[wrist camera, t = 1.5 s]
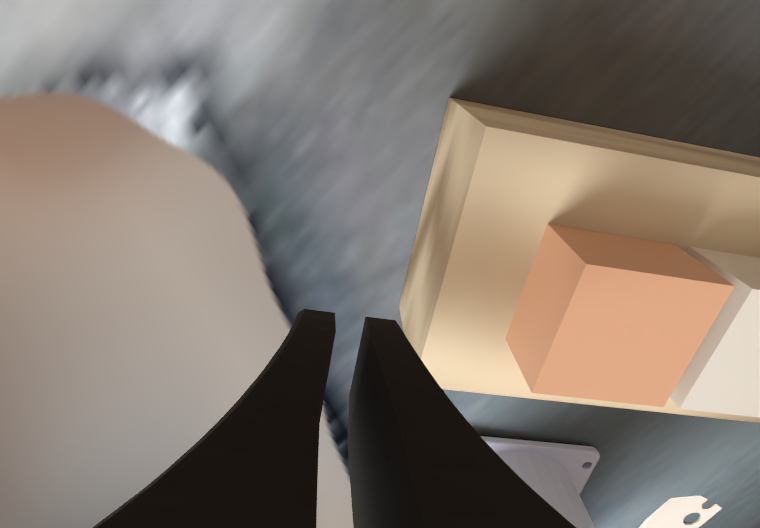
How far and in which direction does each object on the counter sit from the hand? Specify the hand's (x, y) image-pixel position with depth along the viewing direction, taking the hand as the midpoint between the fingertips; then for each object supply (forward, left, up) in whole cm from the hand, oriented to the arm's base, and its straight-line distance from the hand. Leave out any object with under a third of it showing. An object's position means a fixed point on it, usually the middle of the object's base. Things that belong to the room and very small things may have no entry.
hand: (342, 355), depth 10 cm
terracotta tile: (0, -8, -4) cm, 9 cm away
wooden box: (0, -10, -9) cm, 14 cm away
